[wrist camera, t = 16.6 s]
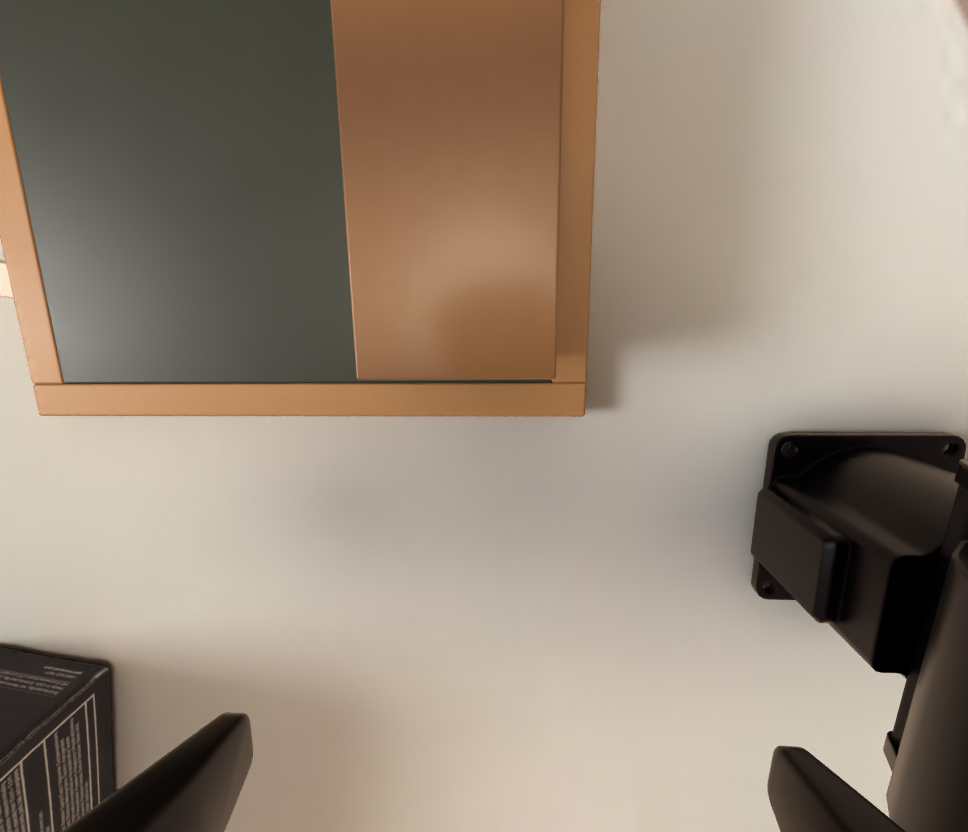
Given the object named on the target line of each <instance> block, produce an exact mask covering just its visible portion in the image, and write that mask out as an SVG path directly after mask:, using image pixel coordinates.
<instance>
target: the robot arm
mask: <svg viewBox="0 0 968 832" xmlns="http://www.w3.org/2000/svg"><path fill="white" fill-rule="evenodd" d="M787 442H789V443H790V447H789V449H788V450H787V451H786V452H781V448H782V446H783V445H784V444H785V443H787ZM947 444H948V445H949V447H948V449H947V450H946V451H945V452H943V449H944V447H945V446H946V445H947ZM965 451H966V444H965V442H964V440H963V439H961V438H960V437H958V436H955V435H951V434H947V433H809V432H784V433H779V434H777V435H775V436H774V437H773V438H772V439H771V440H770V442H769V445H768V452H767V460H766V468H765V476H764V484H763V488H762V489H761V491H760V492H759V493H758V497H757V505H756V514H755V522H754V530H753V538H752V546H751V553H752V555H753V556H754V564H753V572H752V580H751V584H752V587H753V589H754V590H755V591H756V593H757V594H758V595H759V596H760V597H762V598H764V599H777V600H796V601H797V602H798V603H799V604H800V605H801V606H802V607H803V608H804V609H805V610H806V611H807V612H808V613H809V614H810V615H811V616H812V617H813V618H814V619H815V620H816V621H817V622H819V623H829V624H830V625H831V626H832V627H833V628H834V629H835V630H836V632H837V633H838V634H839V635H840V636H841V637H842V638H843V639H844V640H845V641H846V642H847V643H848V644H849V645H850V646H851V647H852V648H853V649H854V650H855V651H856V652H857V653H858V654H859V655H860V656H861V657H862V658H863V659H864V660H865V661H866V662H867V663H868V664H869V665H870V666H871V667H872V668H873V669H874V670H875V671H877V672H881V673H900V674H901V675H903V676H904V677H905V678H906V679H907V680H906V684H905V688H904V692H903V695H902V699H901V703H900V707H899V710H898V714H897V718H896V722H895V725H894V729H893V731H889V732H888V733H887V736H886V740H885V744H884V748H883V750H884V753H885V756H886V758H887V761H888V763H889V765H890V768H891V770H892V776H891V780H890V783H889V787H888V791H887V794H886V796H887V803H888V810H889V816H890V818H889V817H888V816H886V815H885V814H884V813H883V812H881V811H880V810H879V809H878V808H877V807H875V806H874V805H873V804H872V803H870V802H869V801H868V800H867V799H866V798H864V797H863V796H862V795H861V794H859V793H858V792H857V791H856V790H855V789H853V788H852V787H851V786H850V785H848V784H847V783H846V782H845V781H844V780H842V779H841V778H840V777H839V776H837V775H836V774H835V773H834V772H833V771H831V770H830V769H829V768H828V767H826V766H825V765H824V764H823V763H822V762H820V761H819V760H818V759H817V758H816V757H814V756H813V755H812V754H811V753H809V752H808V751H807V750H805V749H803V748H801V747H792V746H777V747H776V748H775V750H774V753H773V758H772V763H771V768H770V773H769V779H768V795H769V800H770V803H771V806H772V809H773V811H774V814H775V817H776V820H777V823H778V825H779V828H780V831H781V832H968V460H967V459H964V456H965ZM767 582H771V584H770V585H769V586H768V587H765V588H763V586H764V584H765V583H767ZM252 757H253V746H252V737H251V728H250V720H249V717H248V715H247V714H244V713H228V712H227V713H223V714H221V715H220V716H218V717H217V718H215V719H214V720H213V721H211V722H210V723H209V724H207V725H206V726H204V727H203V728H202V729H200V730H199V731H198V732H196V733H195V734H194V735H192V736H191V737H189V738H188V739H187V740H185V741H184V742H183V743H181V744H180V745H179V746H177V747H176V748H174V749H173V750H172V751H170V752H169V753H168V754H166V755H165V756H164V757H162V758H161V759H159V760H158V761H157V762H155V763H154V764H153V765H151V766H150V767H149V768H147V769H146V770H144V771H143V772H142V773H140V774H139V775H138V776H136V777H135V778H134V779H132V780H131V781H130V782H128V783H127V784H125V785H124V786H123V787H121V788H120V789H119V790H117V791H116V792H115V793H113V794H112V795H110V796H109V797H108V798H106V799H105V800H104V801H102V802H101V803H100V804H98V805H97V806H95V807H94V808H93V809H91V810H90V811H89V812H87V813H86V814H85V815H83V816H82V817H80V818H79V819H78V820H76V821H75V822H74V823H72V824H71V825H70V826H68V827H67V828H65V829H64V830H63V831H61V832H225V829H226V827H227V824H228V822H229V819H230V817H231V814H232V812H233V809H234V807H235V804H236V801H237V799H238V796H239V794H240V791H241V789H242V786H243V784H244V781H245V779H246V776H247V774H248V771H249V769H250V766H251V762H252Z"/></svg>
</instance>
